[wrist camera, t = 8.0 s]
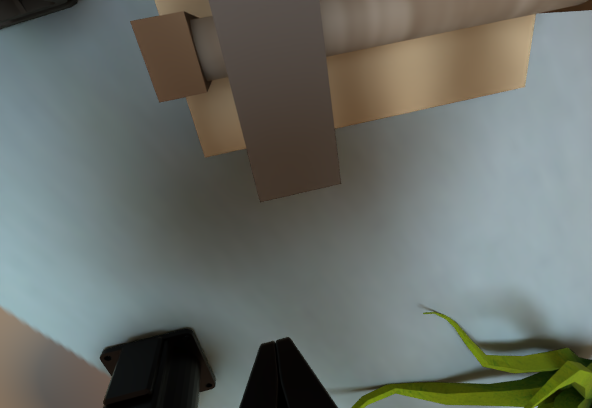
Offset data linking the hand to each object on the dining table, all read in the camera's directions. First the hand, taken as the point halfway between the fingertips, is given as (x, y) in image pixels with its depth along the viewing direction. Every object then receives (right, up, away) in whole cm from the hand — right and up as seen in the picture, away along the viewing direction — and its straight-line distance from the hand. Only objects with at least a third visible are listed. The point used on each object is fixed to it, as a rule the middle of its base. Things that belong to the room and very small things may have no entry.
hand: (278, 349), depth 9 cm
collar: (-1, +11, +5) cm, 12 cm away
